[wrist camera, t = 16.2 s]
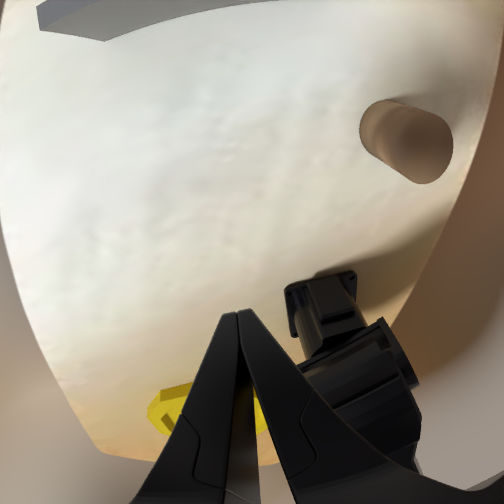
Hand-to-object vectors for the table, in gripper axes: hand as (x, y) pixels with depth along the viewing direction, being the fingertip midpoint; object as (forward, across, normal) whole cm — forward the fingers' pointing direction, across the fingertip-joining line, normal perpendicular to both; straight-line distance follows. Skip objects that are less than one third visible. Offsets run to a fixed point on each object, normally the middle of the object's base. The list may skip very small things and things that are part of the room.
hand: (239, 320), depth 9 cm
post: (+13, -12, -1) cm, 18 cm away
